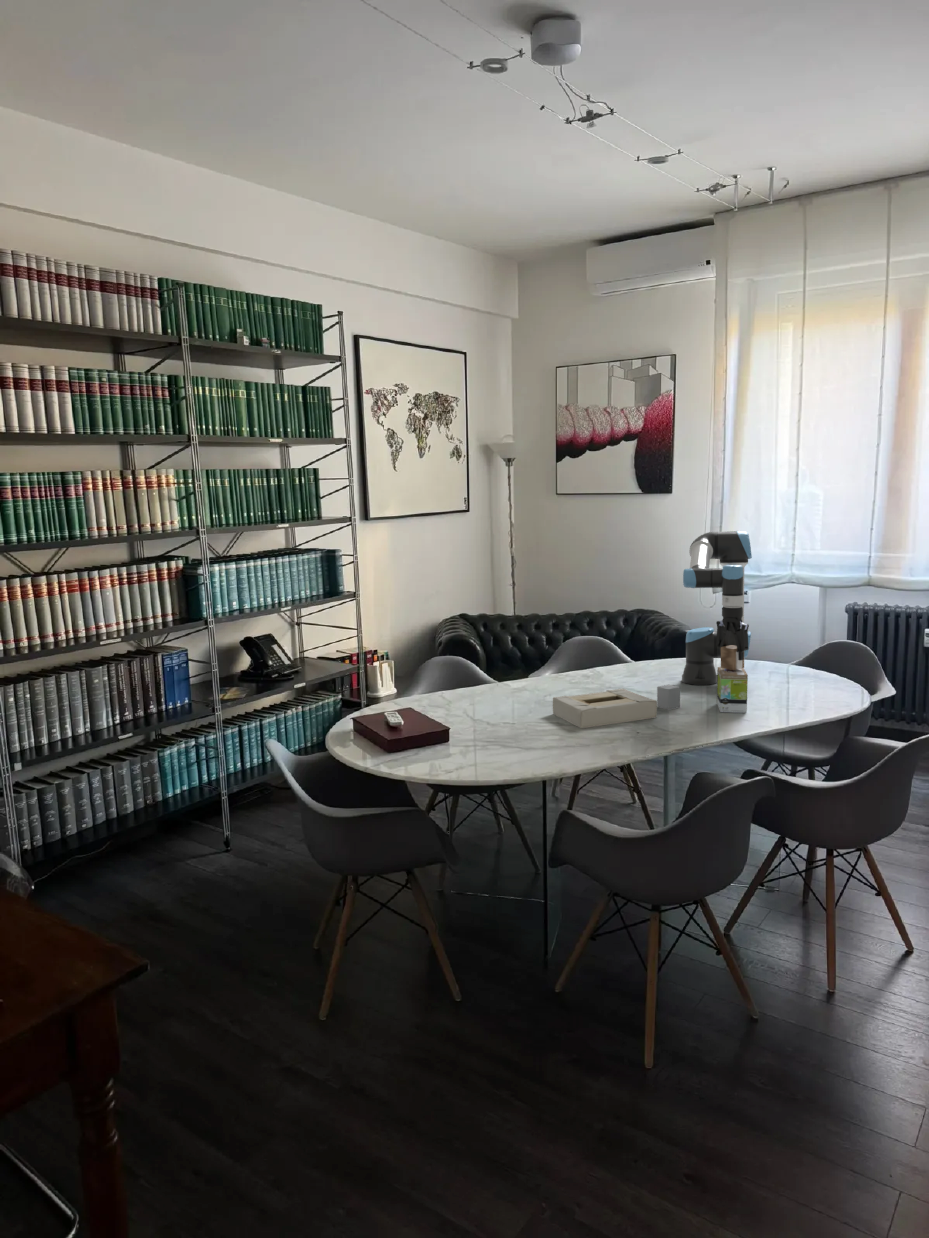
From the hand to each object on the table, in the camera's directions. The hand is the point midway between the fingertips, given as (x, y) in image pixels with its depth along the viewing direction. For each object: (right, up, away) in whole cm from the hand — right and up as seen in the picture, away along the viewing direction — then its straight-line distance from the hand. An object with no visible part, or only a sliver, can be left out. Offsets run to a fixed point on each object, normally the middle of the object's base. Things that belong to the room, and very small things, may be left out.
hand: (732, 667), depth 323 cm
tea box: (+1, -16, +2) cm, 16 cm away
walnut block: (0, 0, 0) cm, 0 cm away
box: (-49, -19, -2) cm, 52 cm away
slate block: (-22, -16, +7) cm, 28 cm away
